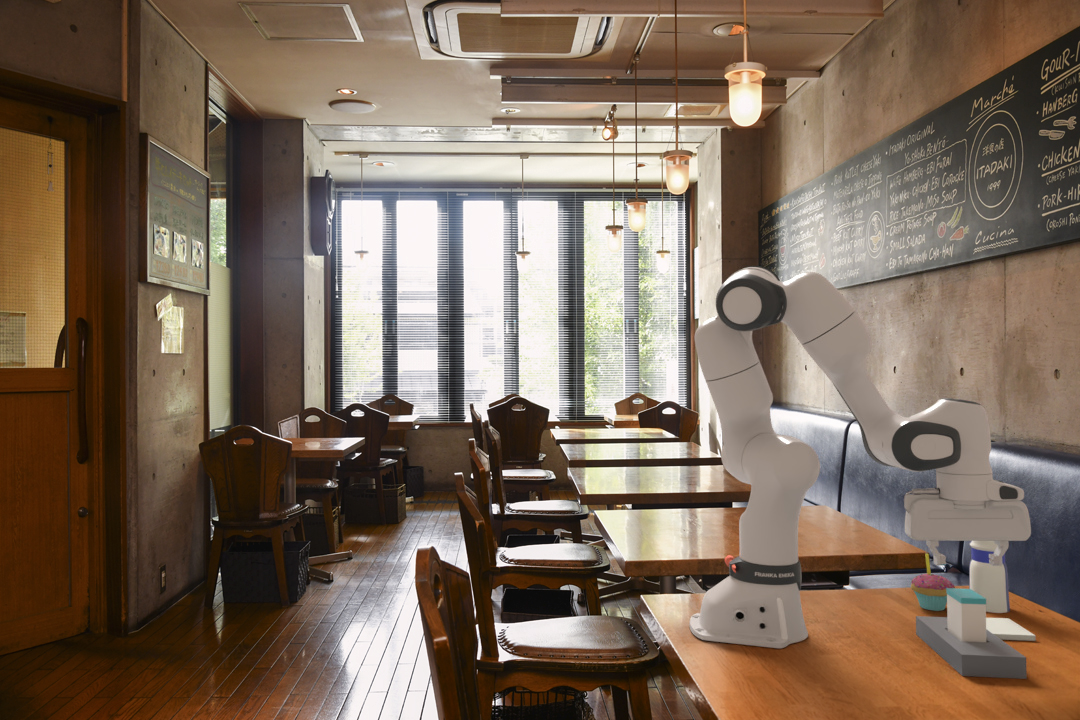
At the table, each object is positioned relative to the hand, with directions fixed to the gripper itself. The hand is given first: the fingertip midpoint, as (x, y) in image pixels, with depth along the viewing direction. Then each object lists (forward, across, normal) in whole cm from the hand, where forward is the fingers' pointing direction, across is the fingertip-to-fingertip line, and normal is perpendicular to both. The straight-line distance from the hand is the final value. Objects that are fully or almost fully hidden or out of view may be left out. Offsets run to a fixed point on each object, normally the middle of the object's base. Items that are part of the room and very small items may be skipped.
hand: (967, 564), depth 131 cm
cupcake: (+17, +4, +28) cm, 33 cm away
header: (+16, -1, 0) cm, 16 cm away
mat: (+16, +10, +14) cm, 24 cm away
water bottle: (+17, +16, +30) cm, 38 cm away
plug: (+16, -1, 0) cm, 16 cm away
